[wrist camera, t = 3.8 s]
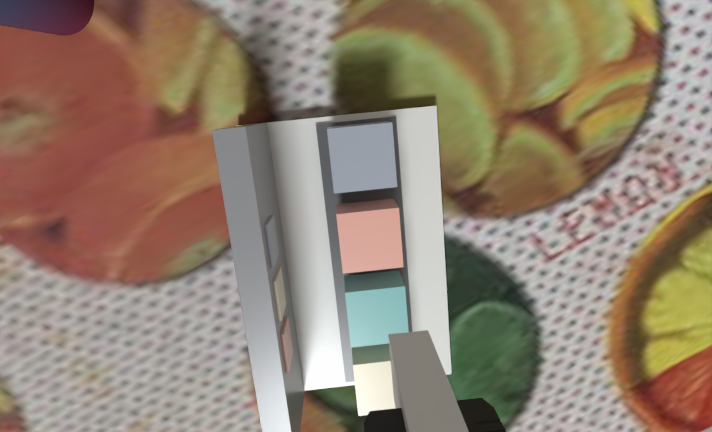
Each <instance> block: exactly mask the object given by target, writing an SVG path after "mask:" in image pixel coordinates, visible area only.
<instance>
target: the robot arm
mask: <svg viewBox="0 0 712 432" xmlns="http://www.w3.org/2000/svg"><path fill="white" fill-rule="evenodd" d="M388 338H389V349H390V360H391V371H392V383H393V394H394V402H395V407H396V408H395V409H385V410H376V411H370V412H369V414H368V416H367V418H366V420H365V422H364V429H365V432H505V428H504V426H503V425H502V423H501V422H500V419H499V417H498V415H497V413H496V411H495V409H494V407H492V406H491V405H490V404H489V403H487V402H486V401H485V400H484V399H482V398H477V399H467V400H458V401H456V399H455V396H454V394H453V391H452V389H451V386H450V384H449V381H448V379H447V376H446V374H445V371H444V369H443V366H442V364H441V361H440V359H439V356H438V354H437V351H436V349H435V346H434V344H433V341H432V339H431V336H430V334H429V331H428V330H425V331H415V332H406V333H396V334H388Z"/></svg>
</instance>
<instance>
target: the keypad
mask: <svg viewBox="0 0 712 432" xmlns="http://www.w3.org/2000/svg"><path fill="white" fill-rule="evenodd" d="M383 121H388V122H392V124H393V137H394V150H395V163H396V176H397V187H393V188H384V189H374V190H364V191H355V192H345V193H335V194H334V190H333V181H332V172H331V162H330V153H329V144H328V135H327V128H328V127H334V126H344V125H353V124H363V123H373V122H383ZM212 133H213V139H214V145H215V151H216V157H217V163H218V169H219V175H220V181H221V187H222V193H223V199H224V205H225V211H226V217H227V223H228V229H229V235H230V241H231V247H232V253H233V259H234V265H235V271H236V277H237V283H238V289H239V295H240V301H241V307H242V313H243V319H244V325H245V331H246V337H247V343H248V349H249V355H250V361H251V367H252V373H253V379H254V385H255V391H256V397H257V403H258V409H259V415H260V421H261V427H262V432H300V426H301V417H302V408H303V399H304V390H313V389H322V388H331V387H340V386H349V385H355V380H354V371H353V360H352V348H351V344H350V335H349V326H348V317H347V307H346V298H345V285H344V276H350V275H359V274H369V273H378V272H387V271H397V270H399V272H400V275H401V277H402V280H403V282H404V285H405V291H406V304H407V317H408V330H409V332H415V331H425V330H428V331H429V334H430V336H431V339H432V341H433V344H434V346H435V349H436V351H437V354H438V356H439V359H440V361H441V364H442V366H443V369H444V371H445V374H446V375H447V374H451V357H450V339H449V321H448V303H447V285H446V267H445V249H444V231H443V214H442V196H441V178H440V160H439V142H438V124H437V106H426V107H416V108H407V109H397V110H387V111H377V112H367V113H357V114H347V115H337V116H327V117H317V118H307V119H297V120H287V121H277V122H267V123H257V124H247V125H238V126H234V127H228V128H222V129H216V130H212ZM384 199H394V201H395V202H396V204H397V205H398V207H399V214H400V227H401V240H402V253H403V266H404V267H401V268H392V269H383V270H373V271H364V272H355V273H345V274H343V271H342V262H341V253H340V244H339V235H338V226H337V217H336V204H345V203H355V202H365V201H374V200H384Z"/></svg>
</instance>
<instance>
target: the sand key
mask: <svg viewBox="0 0 712 432" xmlns="http://www.w3.org/2000/svg"><path fill="white" fill-rule="evenodd" d="M352 360H353V371H354V380H355V389H356V398H357V407H358V416H362V415H368V414H369V412H370V411H376V410H385V409H395V408H396V407H395V402H394V394H393V383H392V371H391V360H390V349H389V343H388V344H379V345H370V346H361V347H352Z"/></svg>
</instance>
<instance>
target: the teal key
mask: <svg viewBox="0 0 712 432" xmlns="http://www.w3.org/2000/svg"><path fill="white" fill-rule="evenodd" d="M344 285H345V298H346V307H347V317H348V326H349V335H350V344H351V348H352V347H361V346H370V345H379V344H388V343H389V338H388V334H396V333H406V332H409V330H408V317H407V304H406V291H405V285H404V282H403V280H402V277H401V275H400V272H399V270H397V271H387V272H378V273H369V274H359V275H350V276H344Z"/></svg>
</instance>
